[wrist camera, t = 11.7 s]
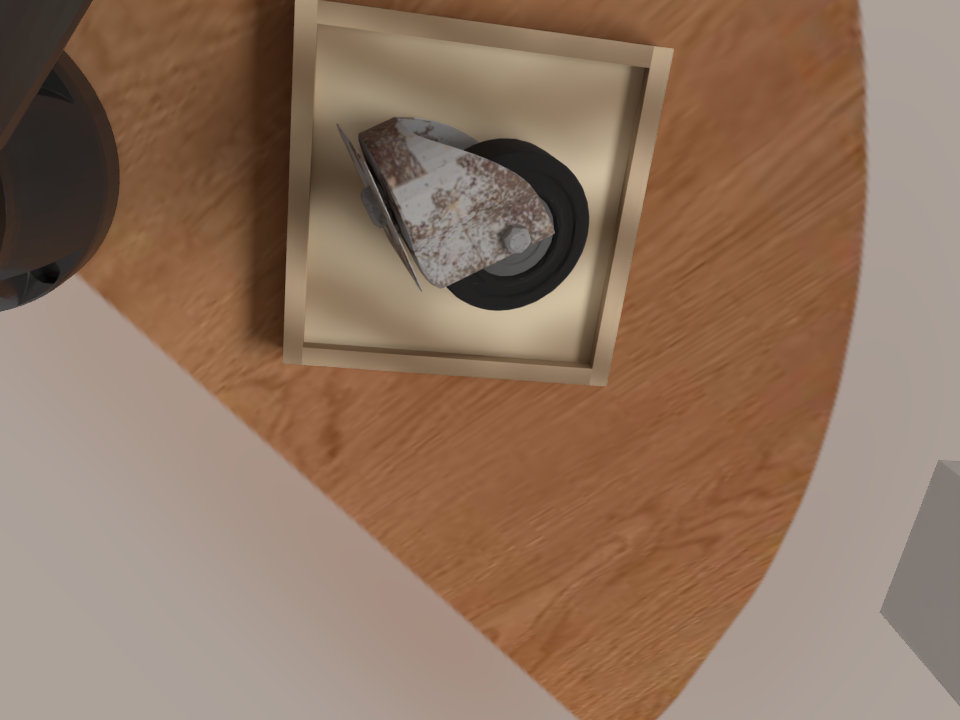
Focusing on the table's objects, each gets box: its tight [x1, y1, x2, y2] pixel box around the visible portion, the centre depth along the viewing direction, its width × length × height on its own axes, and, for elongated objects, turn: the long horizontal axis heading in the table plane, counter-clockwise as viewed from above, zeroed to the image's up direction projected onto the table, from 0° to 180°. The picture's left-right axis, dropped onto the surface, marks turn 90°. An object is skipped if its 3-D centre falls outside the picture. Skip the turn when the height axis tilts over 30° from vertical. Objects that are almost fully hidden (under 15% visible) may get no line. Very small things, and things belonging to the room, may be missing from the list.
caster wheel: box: [336, 117, 589, 311], centre depth 38 cm, size 7×11×10 cm
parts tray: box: [283, 0, 674, 386], centre depth 41 cm, size 18×18×2 cm
